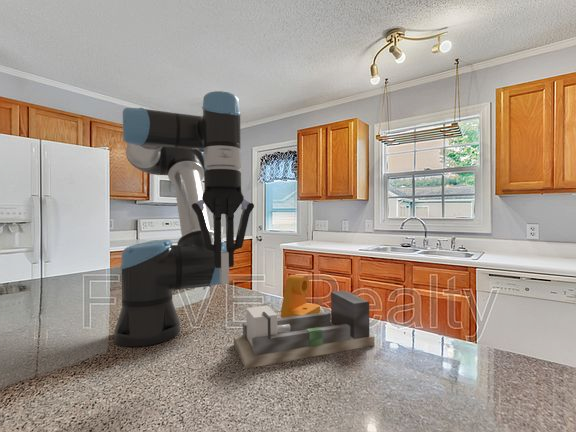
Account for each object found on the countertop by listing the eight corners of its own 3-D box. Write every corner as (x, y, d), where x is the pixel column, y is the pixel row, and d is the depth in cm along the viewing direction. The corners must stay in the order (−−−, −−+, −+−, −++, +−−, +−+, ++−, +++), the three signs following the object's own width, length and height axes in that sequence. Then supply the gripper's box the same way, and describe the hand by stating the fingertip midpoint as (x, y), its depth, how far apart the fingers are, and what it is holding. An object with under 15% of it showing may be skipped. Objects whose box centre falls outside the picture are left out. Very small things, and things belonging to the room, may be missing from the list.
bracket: (303, 325, 86) (302, 281, 86) (280, 320, 90) (280, 278, 90) (321, 314, 95) (321, 274, 95) (300, 310, 99) (300, 271, 99)
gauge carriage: (257, 355, 63) (257, 319, 63) (246, 337, 72) (246, 306, 72) (299, 348, 66) (299, 314, 66) (284, 332, 75) (283, 301, 75)
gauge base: (245, 369, 62) (244, 318, 62) (233, 344, 74) (233, 301, 73) (374, 345, 73) (374, 301, 72) (347, 327, 84) (347, 289, 84)
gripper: (191, 166, 60) (193, 290, 61) (257, 168, 65) (259, 284, 65) (189, 171, 67) (190, 282, 68) (249, 173, 72) (250, 277, 72)
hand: (224, 283), depth 66 cm, fingers closed
